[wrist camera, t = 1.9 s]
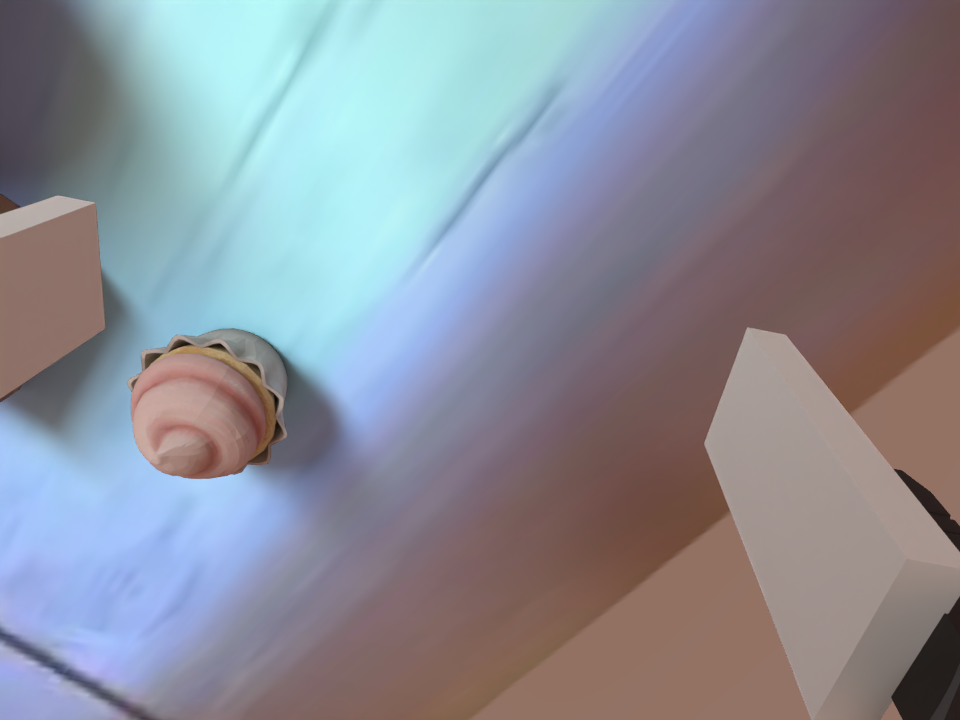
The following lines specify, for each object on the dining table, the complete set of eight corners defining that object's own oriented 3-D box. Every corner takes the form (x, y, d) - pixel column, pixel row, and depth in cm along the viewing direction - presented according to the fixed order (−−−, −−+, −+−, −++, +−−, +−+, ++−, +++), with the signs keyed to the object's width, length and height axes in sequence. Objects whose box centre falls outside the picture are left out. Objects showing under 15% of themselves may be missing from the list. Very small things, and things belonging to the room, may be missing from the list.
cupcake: (285, 291, 41) (213, 365, 32) (329, 424, 45) (276, 523, 36) (145, 314, 43) (38, 391, 34) (199, 440, 46) (116, 539, 38)
